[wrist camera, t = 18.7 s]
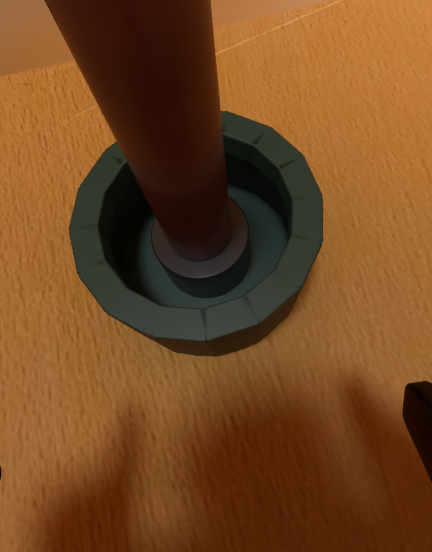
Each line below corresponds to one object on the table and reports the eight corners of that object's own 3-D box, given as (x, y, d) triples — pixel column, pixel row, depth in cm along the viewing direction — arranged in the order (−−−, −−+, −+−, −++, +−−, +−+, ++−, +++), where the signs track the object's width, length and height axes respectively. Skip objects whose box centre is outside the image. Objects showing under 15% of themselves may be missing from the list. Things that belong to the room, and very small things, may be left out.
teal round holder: (332, 221, 18) (362, 158, 13) (250, 393, 16) (253, 392, 11) (173, 156, 20) (150, 82, 15) (81, 301, 18) (21, 267, 13)
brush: (266, 264, 17) (316, -77, 5) (198, 315, 17) (58, 84, 4) (214, 206, 18) (148, -188, 6) (150, 252, 18) (-70, -73, 5)
